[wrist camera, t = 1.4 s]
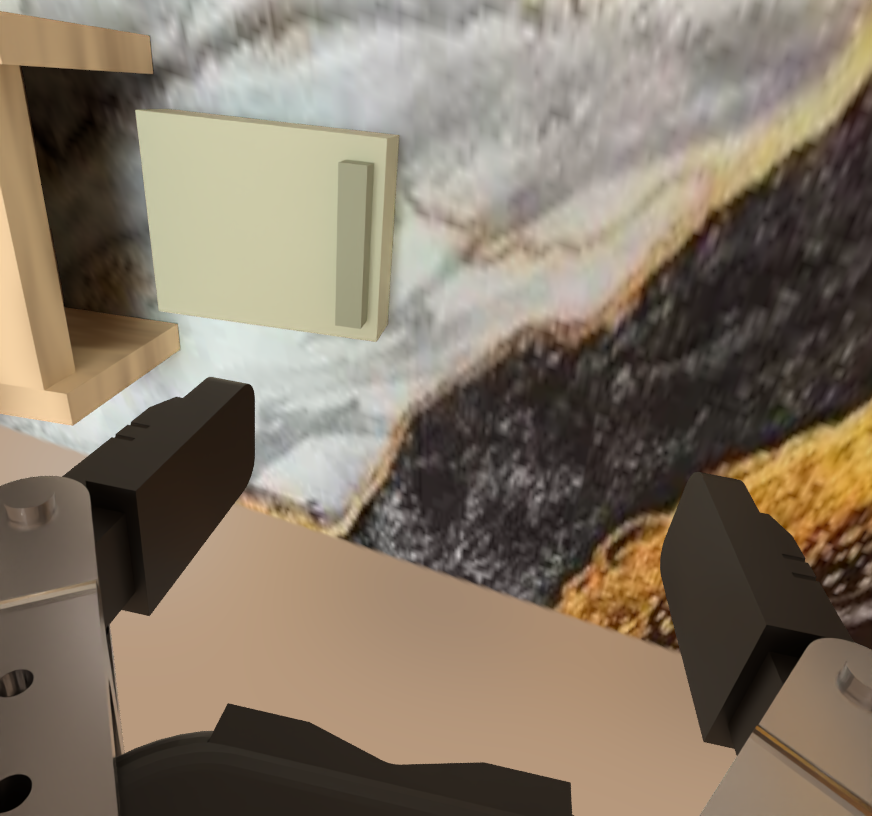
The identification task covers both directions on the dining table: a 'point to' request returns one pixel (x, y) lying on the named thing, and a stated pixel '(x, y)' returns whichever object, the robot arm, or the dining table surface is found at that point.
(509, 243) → the dining table surface
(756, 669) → the robot arm
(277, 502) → the dining table surface
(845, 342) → the dining table surface
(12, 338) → the wooden c-channel bracket
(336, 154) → the panel
